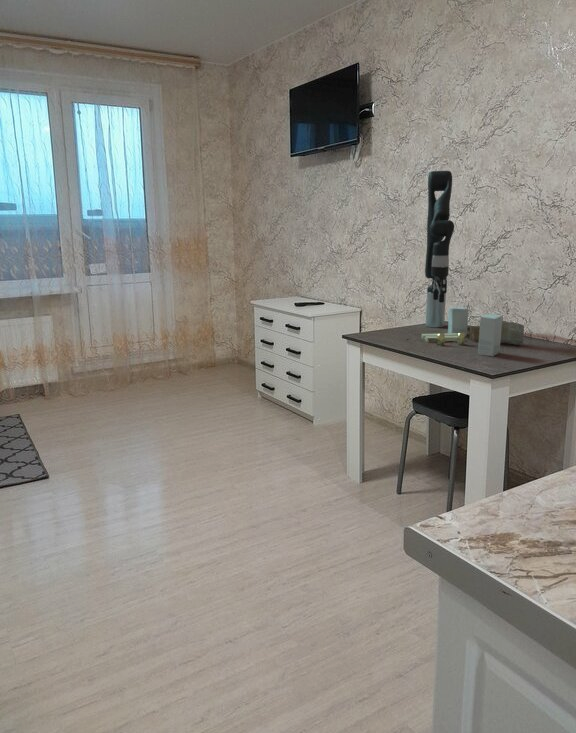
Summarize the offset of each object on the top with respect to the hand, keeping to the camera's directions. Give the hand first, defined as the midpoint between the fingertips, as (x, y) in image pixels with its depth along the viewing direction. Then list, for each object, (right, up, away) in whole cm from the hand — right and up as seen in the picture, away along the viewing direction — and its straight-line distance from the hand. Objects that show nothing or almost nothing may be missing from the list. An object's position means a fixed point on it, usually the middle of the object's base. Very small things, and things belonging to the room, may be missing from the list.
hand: (438, 301), depth 276 cm
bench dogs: (+1, -21, -17) cm, 27 cm away
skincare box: (+12, -25, -35) cm, 45 cm away
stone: (+26, -21, -17) cm, 38 cm away
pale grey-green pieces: (0, -19, -5) cm, 19 cm away
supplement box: (+10, -15, +6) cm, 20 cm away
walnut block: (+15, -18, -7) cm, 25 cm away
